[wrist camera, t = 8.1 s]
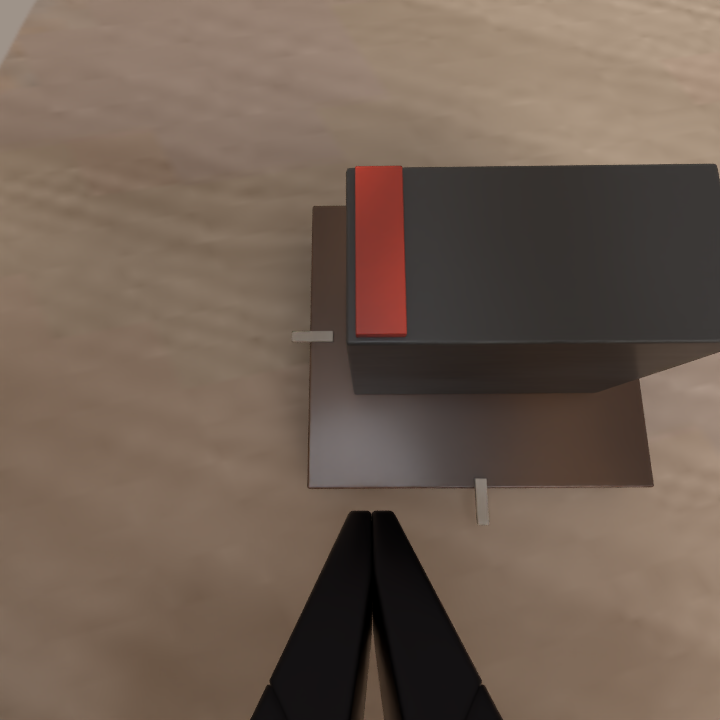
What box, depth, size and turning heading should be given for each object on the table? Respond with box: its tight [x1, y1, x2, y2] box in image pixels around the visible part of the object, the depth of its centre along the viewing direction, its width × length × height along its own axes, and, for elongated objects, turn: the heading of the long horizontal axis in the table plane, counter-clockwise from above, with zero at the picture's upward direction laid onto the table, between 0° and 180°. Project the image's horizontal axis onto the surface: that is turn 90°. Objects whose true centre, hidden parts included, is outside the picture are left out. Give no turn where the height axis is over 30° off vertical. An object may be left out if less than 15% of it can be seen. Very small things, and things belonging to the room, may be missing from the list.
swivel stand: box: [292, 206, 654, 525], centre depth 17 cm, size 12×12×2 cm
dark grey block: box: [346, 164, 720, 395], centre depth 13 cm, size 8×4×7 cm, turn 90°
